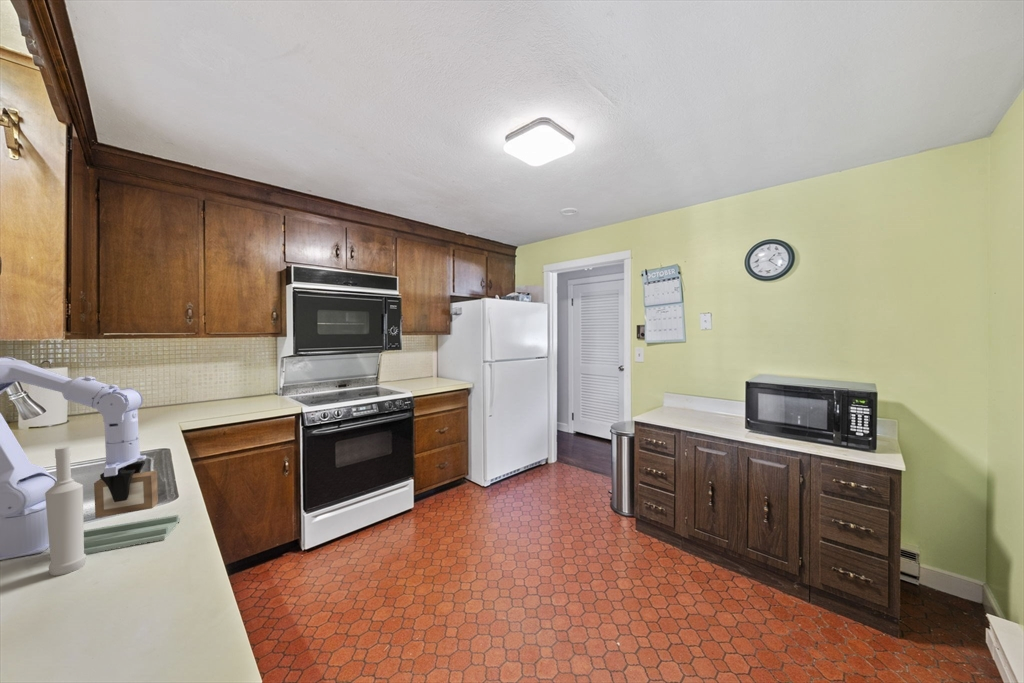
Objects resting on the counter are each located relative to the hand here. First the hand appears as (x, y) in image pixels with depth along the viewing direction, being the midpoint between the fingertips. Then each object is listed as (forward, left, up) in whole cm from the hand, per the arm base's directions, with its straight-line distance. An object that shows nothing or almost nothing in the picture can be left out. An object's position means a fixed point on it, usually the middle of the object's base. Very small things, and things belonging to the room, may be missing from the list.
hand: (124, 497), depth 95 cm
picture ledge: (0, -1, -9) cm, 9 cm away
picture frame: (0, 0, -3) cm, 3 cm away
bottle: (-5, -12, -10) cm, 16 cm away
